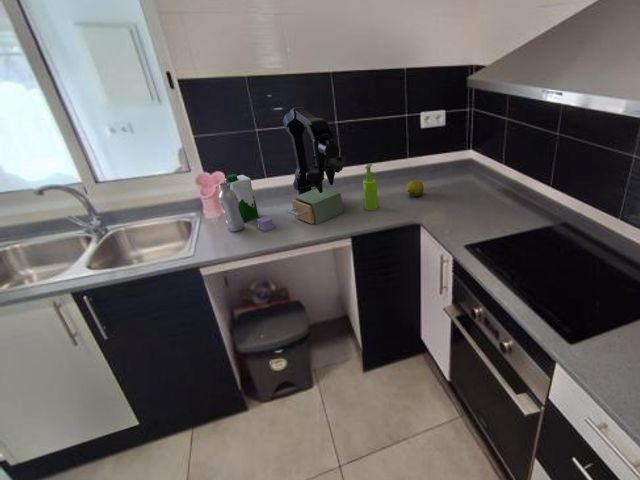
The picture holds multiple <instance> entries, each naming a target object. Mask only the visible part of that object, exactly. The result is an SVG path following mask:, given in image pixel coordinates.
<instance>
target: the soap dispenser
mask: <svg viewBox="0 0 640 480" xmlns="http://www.w3.org/2000/svg"><path fill="white" fill-rule="evenodd" d="M371 167H373V163H367V164H366V165H365V169H366V172H365V173H364V179H363V180H362V188H363V201H364V208H365V209H364V210H367V211H375V210H377V209H378V208H379V202H378V189H377V188H378V187H377V180H376V179H375V178H374V173H373V172H372V170H371Z"/></svg>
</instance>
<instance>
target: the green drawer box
mask: <svg viewBox="0 0 640 480" xmlns="http://www.w3.org/2000/svg"><path fill="white" fill-rule="evenodd" d="M298 199H299V200H301V201H304V202H307V203H309V204H312V205H313V208H314V214H315V220H314V223H313V224H314V225H319V224H321V223H323V222H326V221H327V220H330V219H332V218H334V217H336V216H338V215H341V214H342V213H344V211H343V210H344V209H343V203H342V202H343V201H342V193H341V192H339V191H337V190H334V189H332V188H328V187H324V186H323V192H322V193H320V192H319V191H318V189H317V188H316V187H315V188H314V189H312V190H311V191H308V192H306V193H303V194H300V195H299V194H298V195H296V196H294V200H296V201H298Z"/></svg>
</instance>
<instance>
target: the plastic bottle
mask: <svg viewBox="0 0 640 480" xmlns="http://www.w3.org/2000/svg"><path fill="white" fill-rule="evenodd" d="M218 186H219V190H220V192H219V194H218V201H219V202H220V205H221V207H222V210H223V212H224V217H225V225H226V227H227V230H228V231H230V232H238V231H241V230H243V229H244V227H245V222H244V221H243V219H242V217H241V215H240V212H239V208H238V203H237V196H236V194H235V192H234V191H232V190H231V189H230V188H231V187H230V184H229V183H228V182H225V181H224V182H221V183H219V184H218Z"/></svg>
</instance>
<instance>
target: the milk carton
mask: <svg viewBox="0 0 640 480" xmlns="http://www.w3.org/2000/svg"><path fill="white" fill-rule="evenodd" d="M225 177H226V178H224V183H225V182H228V183H229V184H230V187H231V188H230V189H231V190H232V191H234V192H235V194H236V196H237V203H238V208H239V212H240V215H241V217H242V219H243V221H244V223H245V222H248V221H251V220H255V219H257V218H259V212H258V211H259V210H258V206H257V203H256V197H255V195H254V190H253V186H252V180H251V178H250V177H249V176H246V175H245V174H240V175H237V174H236V173H228V174H227V175H225Z"/></svg>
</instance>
